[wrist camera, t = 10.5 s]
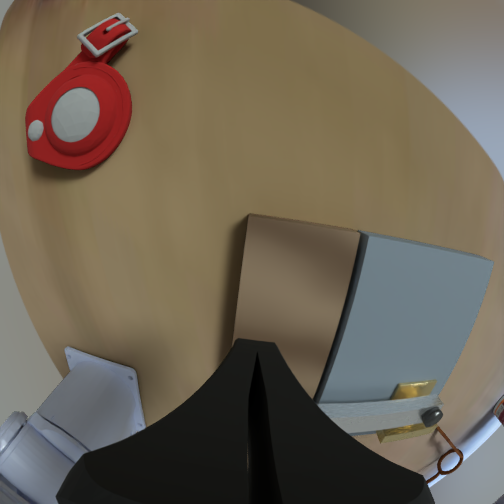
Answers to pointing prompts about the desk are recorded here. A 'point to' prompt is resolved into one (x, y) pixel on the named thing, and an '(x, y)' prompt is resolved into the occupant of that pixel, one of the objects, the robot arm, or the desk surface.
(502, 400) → the pill bottle
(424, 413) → the bar
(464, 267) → the door panel
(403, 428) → the brass keeper
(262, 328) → the jamb board
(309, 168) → the desk surface
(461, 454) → the glasses
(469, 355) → the desk surface
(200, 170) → the desk surface
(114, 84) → the tracker holder
